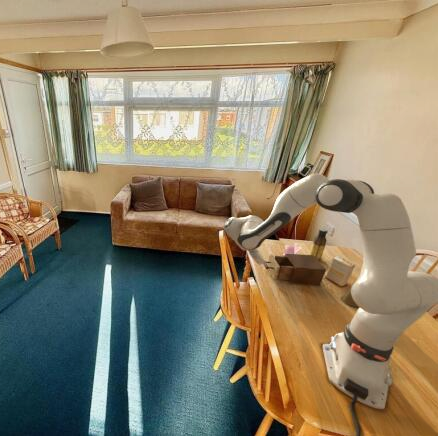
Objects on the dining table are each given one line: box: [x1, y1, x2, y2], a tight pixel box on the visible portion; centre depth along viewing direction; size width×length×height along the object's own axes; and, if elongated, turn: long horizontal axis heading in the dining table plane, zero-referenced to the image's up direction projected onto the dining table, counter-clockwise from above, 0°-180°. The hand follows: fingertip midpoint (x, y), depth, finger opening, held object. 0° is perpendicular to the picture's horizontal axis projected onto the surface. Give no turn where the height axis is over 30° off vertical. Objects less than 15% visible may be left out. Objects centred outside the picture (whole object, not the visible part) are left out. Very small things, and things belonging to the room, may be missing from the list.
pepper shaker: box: [342, 281, 359, 308], centre depth 106 cm, size 6×6×11 cm
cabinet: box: [284, 252, 327, 287], centre depth 123 cm, size 15×13×11 cm
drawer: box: [263, 254, 294, 281], centre depth 124 cm, size 18×11×9 cm, turn 82°
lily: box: [281, 242, 303, 256], centre depth 140 cm, size 12×12×10 cm
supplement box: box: [325, 255, 357, 287], centre depth 119 cm, size 8×5×13 cm, turn 22°
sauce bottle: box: [308, 227, 328, 261], centre depth 137 cm, size 6×6×20 cm
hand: (261, 258), depth 124 cm, fingers open, 8 cm apart
